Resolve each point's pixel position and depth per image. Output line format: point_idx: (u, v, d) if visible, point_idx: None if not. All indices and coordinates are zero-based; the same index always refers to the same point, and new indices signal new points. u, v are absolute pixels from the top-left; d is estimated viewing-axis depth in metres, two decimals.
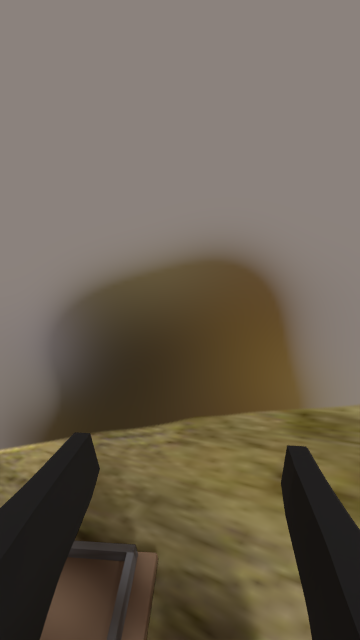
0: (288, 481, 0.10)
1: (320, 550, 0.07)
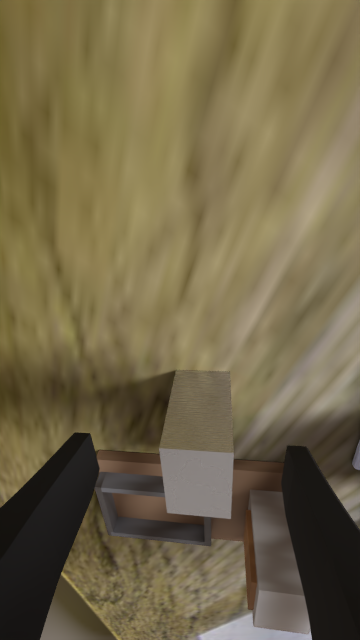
0: (288, 481, 0.10)
1: (320, 550, 0.07)
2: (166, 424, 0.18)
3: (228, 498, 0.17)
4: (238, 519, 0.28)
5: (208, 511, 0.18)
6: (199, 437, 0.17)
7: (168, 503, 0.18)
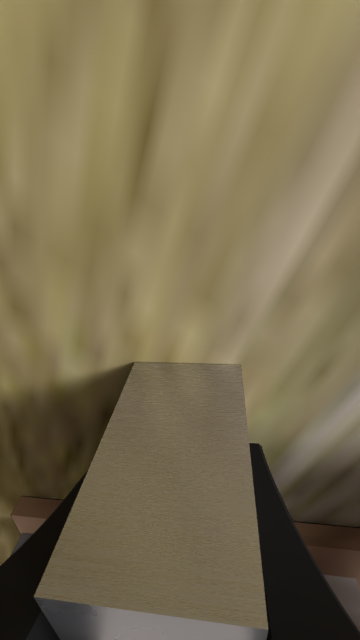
0: None
1: None
2: (80, 501, 0.07)
3: None
4: None
5: None
6: (161, 550, 0.06)
7: None
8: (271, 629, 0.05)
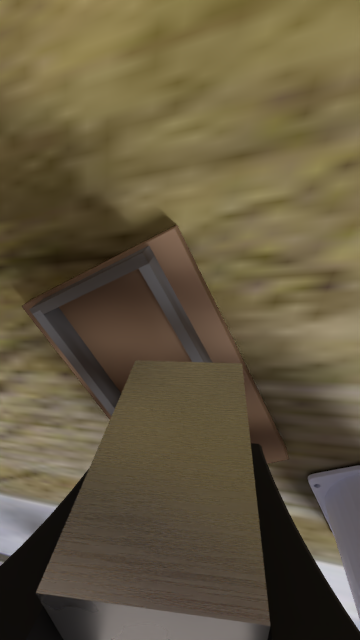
0: None
1: None
2: (82, 498, 0.07)
3: None
4: None
5: None
6: (163, 547, 0.06)
7: None
8: (271, 629, 0.05)
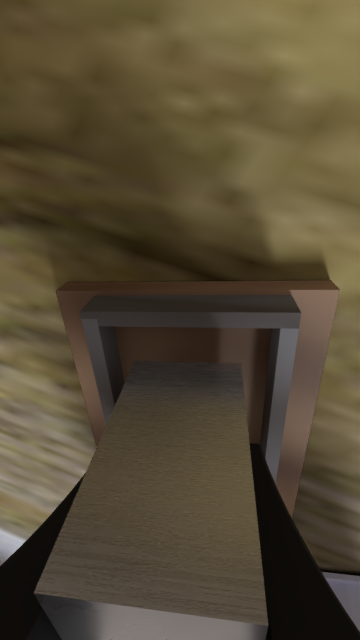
0: None
1: None
2: (80, 498, 0.07)
3: None
4: None
5: None
6: (161, 547, 0.06)
7: None
8: (271, 629, 0.05)
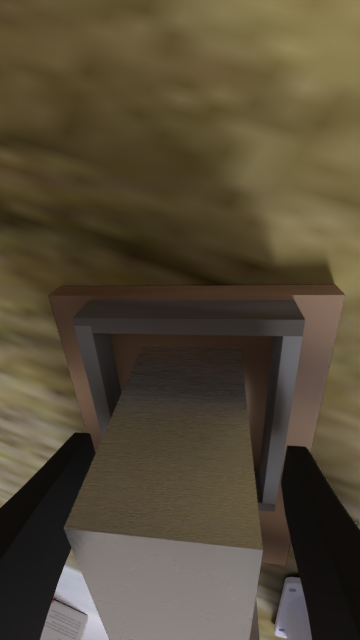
0: (288, 481, 0.10)
1: (320, 550, 0.07)
2: (99, 457, 0.08)
3: (243, 632, 0.07)
4: None
5: None
6: (171, 494, 0.07)
7: (109, 627, 0.08)
8: None
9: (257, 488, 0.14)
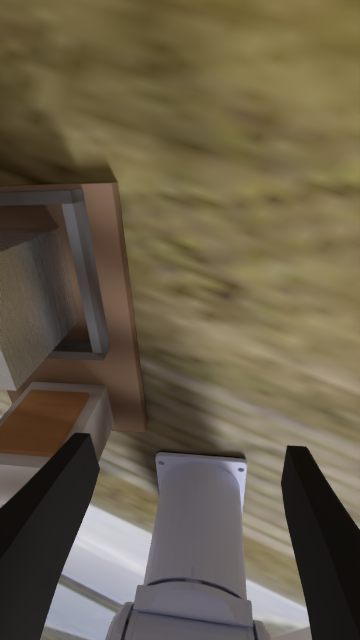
0: (288, 481, 0.10)
1: (320, 550, 0.07)
2: None
3: None
4: (45, 374, 0.23)
5: None
6: None
7: None
8: None
9: None
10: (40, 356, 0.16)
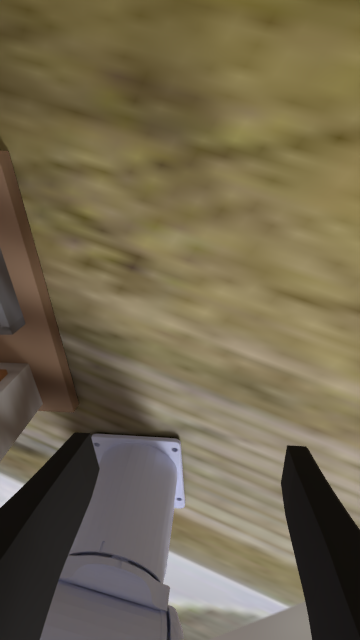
0: (288, 481, 0.10)
1: (320, 550, 0.07)
2: None
3: None
4: None
5: None
6: None
7: None
8: None
9: None
10: None
